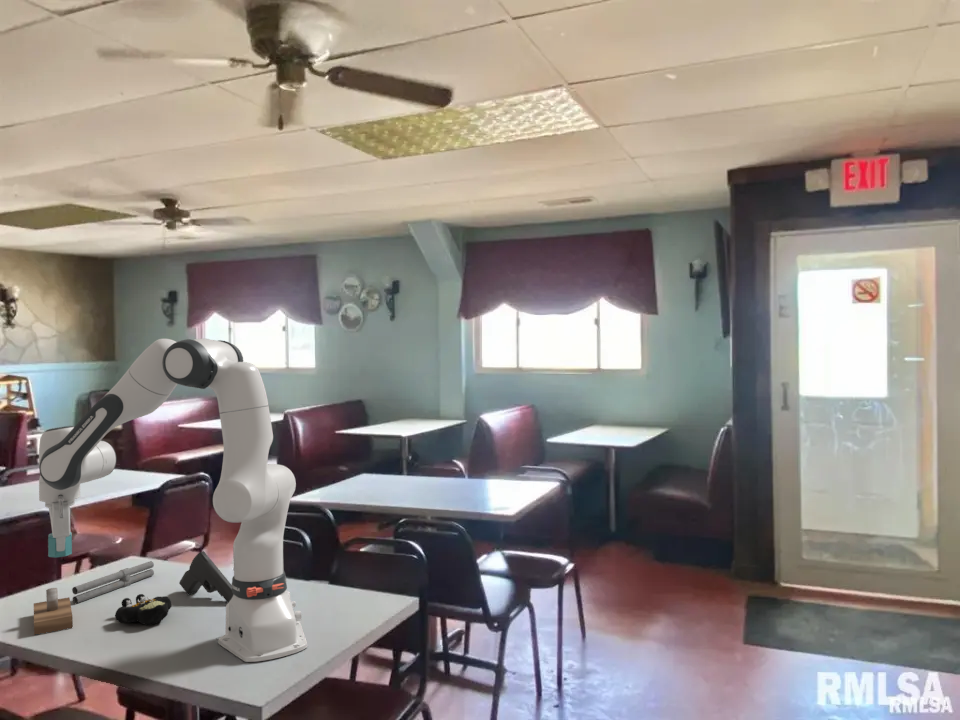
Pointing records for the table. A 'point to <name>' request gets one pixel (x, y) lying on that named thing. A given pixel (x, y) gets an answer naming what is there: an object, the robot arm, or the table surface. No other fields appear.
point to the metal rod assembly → (122, 575)
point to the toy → (143, 610)
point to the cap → (52, 546)
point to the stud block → (52, 613)
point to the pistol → (205, 577)
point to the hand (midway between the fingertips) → (60, 547)
